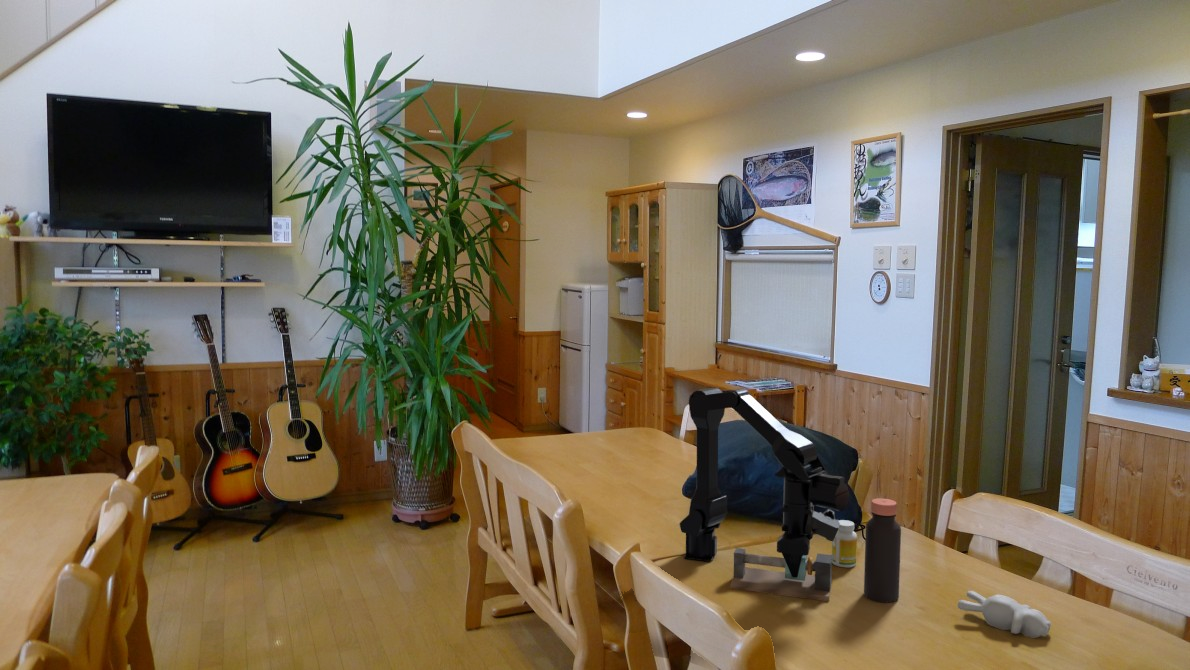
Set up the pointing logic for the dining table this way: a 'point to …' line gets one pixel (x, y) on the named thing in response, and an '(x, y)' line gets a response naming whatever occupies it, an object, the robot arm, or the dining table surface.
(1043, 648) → the dining table surface
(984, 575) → the dining table surface
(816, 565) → the rod stand
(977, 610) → the bunny figurine
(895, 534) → the water bottle
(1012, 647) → the dining table surface
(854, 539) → the supplement bottle
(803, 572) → the sleeve
